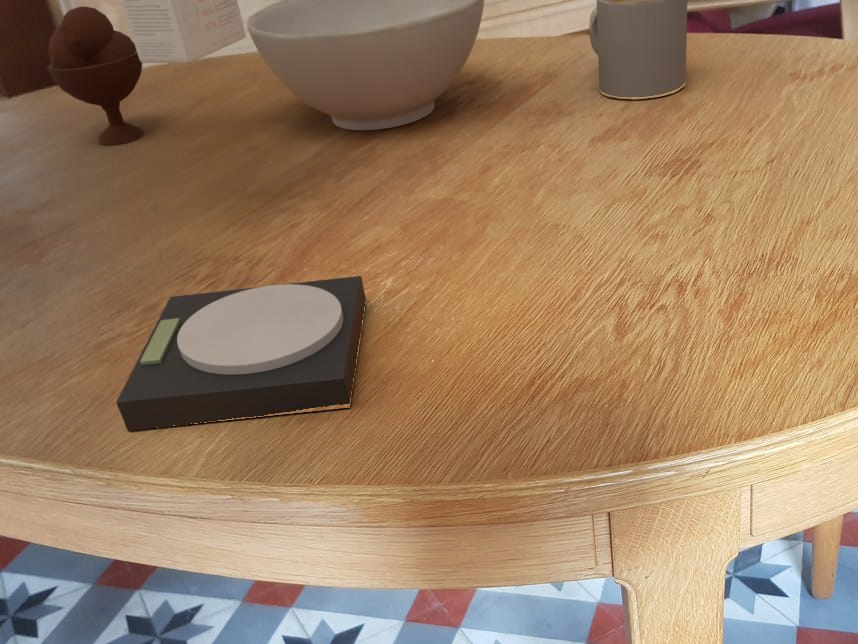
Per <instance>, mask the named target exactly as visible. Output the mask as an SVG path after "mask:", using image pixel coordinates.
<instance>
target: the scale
mask: <svg viewBox="0 0 858 644" xmlns="http://www.w3.org/2000/svg"><path fill="white" fill-rule="evenodd" d="M364 287H365V286H364V282H363V278H362V275H356V276H347V277H346V276H345V277H337V278H330V279H319V280H310V281H302V282H300V281H299V282H293V283H283V284H271V285H266V286H265V285H264V286H257V287H248V288H247V287H246V288H237V289H230V290H219V291H212V292H210V291H209V292H203V293H193V294H184V295H183V294H182V295H175V296H170V297H169V298H168V300H167V303H166V304H165V306H164V308H163V310H162V312H161V314H160V316H159V318H158V320H157V322H156V324H155V326H154V327H153V330H152V332H151V333H150V335H149V337H148V339H147V341H146V342H145V345H144V347H143V349H142V351H141V353H140V354H139V357H138V359H137V360H136V362H135V365H134V366H133V368H132V370H131V372H130V375H129V376H128V378H127V380H126V382H125V384H124V386H123V388H122V389H121V391H120V393H119V396H118V397H117V400H116V402H115V403H116V405H117V408H118V410H119V412H120V415H121V418H122V420H123V423H124V425H125V427H126V430H127V432H136V431H135V430H138V431H146V430H145V429H148V430H153V429H152V428H157V427H158V429H161V428H160V427H167V428H169V427H168V426H173V425H175V426H177V427H179V426H178V425H186V424H191V423H192V424H194V423H200V422H201V423H204V422H209V421H210V422H211V421H218V420H226V419H232V418H234V419H236V418H242V417H245V418H246V417H254V416H256V417H257V416H264V415H268V414H275V413H277V414H278V413H281V412H282V413H283V412H291V411H296V410H303V409H309V408H316V407H323V406H325V407H327V406H330V405H332V406H333V405H337V404H339V405H343V404H349V403H350V398H351V391H352V385H353V378H354V373H355V368H356V359H357V352H358V346H359V339H360V333H361V327H362V320H363V314H364V307H365V301H366V302H367V297H366V293H365V289H364ZM186 426H187V425H186ZM150 428H151V429H150ZM142 429H143V430H142Z"/></svg>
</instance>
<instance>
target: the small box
mask: <svg viewBox="0 0 858 644" xmlns="http://www.w3.org/2000/svg"><path fill="white" fill-rule="evenodd" d="M120 2H121V5H122V9H123V12H124V15H125V18H126V22H127V24H128V28H129V31H130V34H131V37H132V41H133V42H134V44H135V47H136V50H137V53H138V57H139V60H140V61H141V62H142V64H191V63H193V62H195V61H197V60H200V59H202V58H204V57H206V56H208V55H211V54H213V53H215V52H217V51H219V50H221V49H223V48H226V47H229V46H231V45H233V44H234V43H237V42H240V41H241V40H244V39H245V38H246V31H245V27H244V26H245V25H244V22H243V17H242V15H241V10H240V7H239V2H238V0H120Z"/></svg>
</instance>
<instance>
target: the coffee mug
mask: <svg viewBox="0 0 858 644" xmlns="http://www.w3.org/2000/svg"><path fill="white" fill-rule="evenodd" d="M588 30H589V31H588V32H589V40H590V43H591V48H592V50H593V51H594V53H595V54H596V55H597V57H598V58H597V59H598V62H597V63H598V90H599V89H600V90H601V92H603V93H605V94H608V95H612V96H617V97H630V98H631V97H645V96H646V97H647V96H654V95H660V94H664V93H667V92H671V91H673V90H676V89H678V88H680V87H681V86H683V84H684V83H685V81H687V38H688V37H687V36H688V0H596V6H595V8H593V10H592V11H591V13H590V16H589V25H588Z"/></svg>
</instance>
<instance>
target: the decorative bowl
mask: <svg viewBox="0 0 858 644" xmlns="http://www.w3.org/2000/svg"><path fill="white" fill-rule="evenodd" d="M484 7H485V0H280V1H277V2H274V3H272V4H269V5H267V6H264V7H263V8H261V9H260V10H257V11H256V12H254V13H253V14H252V15H251V16H250V17H249V18H248V20H247V21H246V28H247V31H248V34H249V36H250V38H251V40H252V43H253V44H254V46H255V47H256V49H257V51H258V53H259V55H260V56H261V58H262V59H263V61H264V63H265V64H266V65H267V67H268V68H269V69H270V70H271V72H272V73H273V74H274V75H275V77H276V78H277V79H278V80H279V81H280V82H281V83H282V85H283V86H285V87H286V89H287V90H289V91H290V93H292V94H293V95H294V96H296V98H298V99H299V100H300V101H302V102H303V103H305V104H306V105H308V106H310V107H311V108H313V109H315V110H317V111H319V112H322V113H324V114H326V115H329V116H330V118H331V121H332V123H333V125H335V126H336V127H338V128H341V129H343V130H344V129H345V130H349V131H377V130H386V129H392V128H397V127H401V126H404V125H408V124H411V123H414V122H417V121H419V120H421V119H423V117H424V118H426V117H427V116H428V115H430V114H431V113H432V112H433V111H434V109H435V100H436V99H438V97H439V96H441V95H442V94H444V92H445V91H446V90H447V89H448V88H449V87H450V86H451V85H452V84H453V83H454V82H455V80H456V79H457V78H458V77H459V75H460V73H461V72H462V71H463V68H464V67H465V65H466V63H467V61H468V59H469V57H470V55H471V53H472V50H473V48H474V46H475V43H476V40H477V38H478V35H479V30H480V27H481V23H482V18H483V13H484Z"/></svg>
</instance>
